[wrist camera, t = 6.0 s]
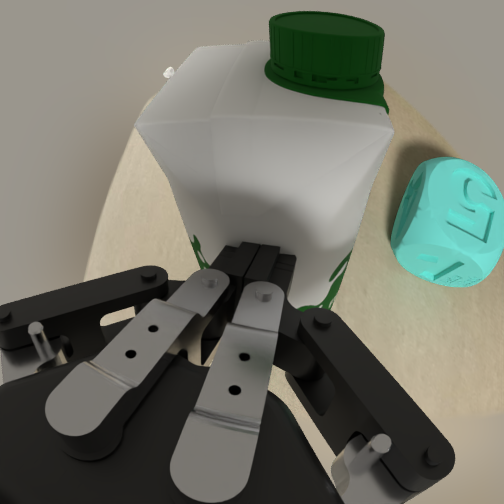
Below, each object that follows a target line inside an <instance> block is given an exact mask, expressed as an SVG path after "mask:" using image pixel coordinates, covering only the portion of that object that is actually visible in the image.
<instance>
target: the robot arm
mask: <svg viewBox="0 0 504 504" xmlns="http://www.w3.org/2000/svg"><path fill="white" fill-rule="evenodd" d="M260 245H261V244H257V243H250V242H243V241H242V243H241V244H240V246H239V247H238V248H237V247H232V246H227V245H225V247H224V248H223V250H222V251H221V252H220V253H219V255H218V256H217V257H216V259H215V260H214V261H213V263H212V264H211V265H210V267H209V268H208V269H202V270H198V271H196V272H194V273H193V274H192V275H191V276H190V277H189V278H188V279H187V280H186V281H177V280H168V273H167V272H166V270H164V269H163V268H161V267H158V266H143V267H139V268H135V269H131V270H127V271H124V272H120V273H116V274H112V275H109V276H105V277H101V278H98V279H94V280H90V281H87V282H83V283H79V284H76V285H72V286H68V287H65V288H61V289H58V290H54V291H50V292H46V293H43V294H39V295H36V296H32V297H29V298H25V299H21V300H18V301H14V302H11V303H7V304H4V305H1V306H0V350H1V361H2V374H3V383H4V384H3V385H1V386H0V504H404V503H405V502H407V501H408V500H410V499H412V498H414V497H415V496H417V495H418V494H420V493H422V492H423V491H425V490H426V489H428V488H429V487H431V486H433V485H434V484H435V483H437V482H438V481H440V480H441V479H442V478H444V477H446V476H447V475H448V474H449V473H450V472H451V470H452V469H453V467H454V463H455V453H454V450H453V448H452V446H451V444H450V443H449V442H448V440H447V439H446V438H445V437H444V436H443V435H442V433H441V432H440V431H439V430H438V429H437V427H436V426H435V425H434V424H433V423H432V422H431V420H430V419H429V418H428V417H427V416H426V415H425V413H424V412H423V411H422V410H421V409H420V408H419V406H418V405H417V404H416V403H415V402H414V401H413V399H412V398H411V397H410V396H409V395H408V394H407V393H406V391H405V390H404V389H403V388H402V387H401V386H400V384H399V383H398V382H397V381H396V380H395V379H394V378H393V376H392V375H391V374H390V373H389V372H388V371H387V370H386V369H385V367H384V366H383V365H382V364H381V363H380V362H379V361H378V359H377V358H376V357H375V356H374V355H373V354H372V353H371V352H370V350H369V349H368V348H367V347H366V346H365V345H364V344H363V343H362V341H361V340H360V339H359V338H358V337H357V336H356V335H355V334H354V332H353V331H352V330H351V329H350V328H349V327H348V326H347V325H346V324H345V322H344V321H343V320H342V319H341V318H340V317H339V316H338V315H337V314H336V313H334V312H333V311H331V310H328V309H325V308H318V307H316V308H310V309H307V310H305V311H304V312H302V311H300V310H298V309H296V308H295V307H293V306H292V305H291V304H290V303H289V301H288V300H287V299H288V295H289V292H290V289H291V284H292V279H293V275H294V270H295V265H296V260H297V258H296V256H295V255H290V254H280V247H279V246H272V245H265V244H262V245H261V247H260ZM132 306H134V310H135V317H133V318H130V319H126V320H123V321H120V322H117V323H113V324H110V325H107V326H100V320H101V318H102V317H103V316H104V315H106V314H109V313H112V312H116V311H119V310H122V309H126V308H129V307H132ZM213 358H214V359H213ZM212 360H213V361H212ZM211 362H212V364H211V366H210V367H208V366H209V365H210V363H211ZM272 364H273V365H275V366H277V367H279V368H280V369H282V370H284V371H286V372H285V377H286V379H287V381H288V383H289V384H290V386H291V388H292V389H293V391H294V392H295V394H296V396H297V397H298V399H299V400H300V402H301V403H302V405H303V406H304V408H305V410H306V411H307V413H308V414H309V416H310V417H311V419H312V420H313V422H314V423H315V425H316V427H317V428H318V430H319V431H320V433H321V434H322V436H323V437H324V439H325V440H326V442H327V443H328V445H329V446H330V448H331V449H332V451H333V452H334V454H335V455H336V458H335V460H334V461H333V463H332V466H331V474H332V477H333V480H334V482H335V485H336V488H335V486H334V485H333V483H332V481H331V480H330V478H329V476H328V475H327V473H326V471H325V470H324V468H323V466H322V465H321V463H320V461H319V459H318V458H317V456H316V454H315V452H314V451H313V449H312V447H311V446H310V444H309V442H308V440H307V439H306V437H305V435H304V433H303V431H302V430H301V428H300V426H299V424H298V422H297V421H296V419H295V417H294V415H293V414H292V412H291V411H290V409H289V408H288V407H287V405H286V404H285V403H284V402H283V401H282V400H281V399H280V398H278V397H277V396H276V395H275V394H273V393H272V392H270V391H269V390H268V385H269V380H270V375H271V370H272Z"/></svg>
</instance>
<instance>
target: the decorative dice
mask: <svg viewBox="0 0 504 504" xmlns="http://www.w3.org/2000/svg"><path fill="white" fill-rule="evenodd" d="M391 248H392V250H393V252H394V255H395V257H396V258H397V260H398V262H399V263H400V264H401V266H402V267H404V268H405V269H406V270H407V271H409V272H410V273H412V274H414V275H415V276H417V277H419V278H422V279H424V280H426V281H429V282H432V283H436V284H439V285H444V286H450V287H468V286H473V285H476V284H478V283H479V282H481V281H482V280H483V279H485V278H486V277H487V276H488V275H489V273H490V272H491V271H492V270H493V268H494V267H495V265H496V263H497V262H498V260H499V258H500V256H501V253H502V251H503V248H504V199H503V197H502V194H501V192H500V191H499V189H498V187H497V186H496V184H495V183H494V181H493V180H492V179H491V178H490V177H489V176H488V175H487V174H486V173H485V172H484V171H483V170H482V169H480V168H479V167H477V166H476V165H474V164H472V163H470V162H468V161H466V160H463V159H459V158H454V157H438V158H433V159H430V160H427V161H424V162H422V163H421V164H420V165H419V166H418V167H417V169H416V170H415V172H414V174H413V175H412V177H411V179H410V182H409V184H408V186H407V188H406V191H405V193H404V196H403V198H402V201H401V204H400V206H399V209H398V212H397V215H396V219H395V222H394V226H393V230H392V235H391Z"/></svg>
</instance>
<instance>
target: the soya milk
mask: <svg viewBox="0 0 504 504" xmlns="http://www.w3.org/2000/svg"><path fill="white" fill-rule="evenodd" d="M269 34H270V41H249V42H247V44H235V45H218V46H205V47H197V48H196V49H195V50H194V51H193V52H192V54H191V55H190V56H189V57H188V58H187V59H186V60H185V61H184V62H183V64H182V65H181V66H180V67H179V68H178V69H177V70H176V72H175V73H174V74H173V75H172V76H171V77H170V79H169V80H168V81H167V82H166V84H165V85H164V86H163V87H162V88H161V90H160V91H159V92H158V93H157V95H156V96H155V97H154V98H153V100H152V101H151V102H150V103H149V105H148V106H147V107H146V109H145V110H144V111H143V113H142V114H141V115H140V117H139V118H138V119H137V121H136V122H135V124H134V126H135V127H136V129H137V131H138V132H139V134H140V135H141V137H142V138H143V140H144V142H145V143H146V145H147V146H148V148H149V150H150V151H151V153H152V154H153V156H154V157H155V159H156V161H157V162H158V164H159V165H160V167H161V169H162V170H163V172H164V173H165V175H166V177H167V178H168V181H169V183H170V186H171V189H172V192H173V194H174V197H175V200H176V203H177V206H178V209H179V211H180V214H181V217H182V220H183V222H184V225H185V228H186V231H187V233H188V236H189V239H190V242H191V244H192V247H193V250H194V252H195V255H196V258H197V260H198V263H199V266H200V268H201V270H202V269H208V268H209V267H210V265H211V264H212V263H213V261H214V260H215V259H216V257H217V256H218V255H219V253H220V252H221V251H222V250H223V248H224V247H225V245H227V246H232V247H237V248H238V247H239V246H240V244H241V243H242V241H243V242H250V243H257V244H261V245H262V244H265V245H272V246H279V247H280V254H290V255H295V256H296V258H297V260H296V265H295V270H294V275H293V279H292V284H291V289H290V292H289V295H288V299H287V300H288V301H289V303H290V304H291V305H292V306H293V307H295V308H296V309H298V310H300V311H302V312H304V311H305V310H307V309H310V308H316V307H318V308H325V309H328V310H330V309H331V307H332V305H333V302H334V300H335V298H336V295H337V293H338V290H339V287H340V285H341V282H342V279H343V276H344V273H345V270H346V267H347V264H348V262H349V259H350V256H351V252H352V249H353V246H354V243H355V240H356V237H357V234H358V231H359V227H360V224H361V221H362V218H363V214H364V211H365V207H366V204H367V201H368V197H369V194H370V191H371V188H372V185H373V182H374V180H375V177H376V175H377V173H378V170H379V168H380V166H381V163H382V161H383V159H384V156H385V154H386V152H387V149H388V147H389V145H390V142H391V140H392V137H393V135H394V129H393V126H392V123H391V121H390V119H389V117H388V113H389V108H388V105H387V103H386V101H385V99H384V97H383V94H384V83H383V80H382V77H381V75H380V74H379V71H380V69H381V62H382V53H383V46H384V37H385V33H384V30H383V29H382V28H381V27H379V26H378V25H376V24H374V23H372V22H369V21H367V20H364V19H361V18H357V17H353V16H348V15H344V14H338V13H330V12H319V11H318V12H317V11H297V12H288V13H282V14H278V15H275V16H273V17H271V19H270V21H269ZM261 245H260V247H261Z"/></svg>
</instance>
